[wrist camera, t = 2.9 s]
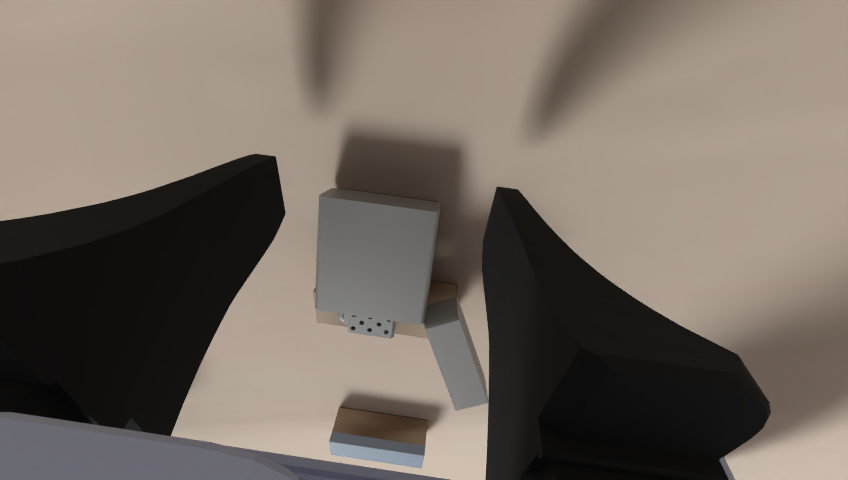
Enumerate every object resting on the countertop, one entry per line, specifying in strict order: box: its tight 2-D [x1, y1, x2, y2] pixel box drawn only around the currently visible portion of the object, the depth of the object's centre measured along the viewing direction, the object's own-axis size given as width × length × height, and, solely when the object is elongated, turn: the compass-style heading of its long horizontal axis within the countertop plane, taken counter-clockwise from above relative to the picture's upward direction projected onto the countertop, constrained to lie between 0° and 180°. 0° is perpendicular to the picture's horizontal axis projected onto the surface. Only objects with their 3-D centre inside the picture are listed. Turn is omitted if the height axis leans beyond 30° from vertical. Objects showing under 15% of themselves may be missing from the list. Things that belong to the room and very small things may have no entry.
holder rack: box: [313, 281, 457, 468], centre depth 16 cm, size 6×28×2 cm, turn 174°
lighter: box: [315, 188, 489, 410], centre depth 14 cm, size 7×2×8 cm
